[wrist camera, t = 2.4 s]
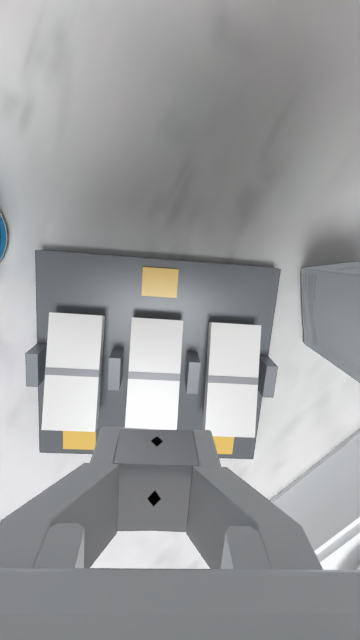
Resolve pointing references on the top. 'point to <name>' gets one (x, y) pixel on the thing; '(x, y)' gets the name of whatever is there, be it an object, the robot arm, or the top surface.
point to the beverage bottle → (2, 237)
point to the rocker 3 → (232, 379)
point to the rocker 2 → (154, 374)
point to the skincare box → (333, 313)
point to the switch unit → (154, 303)
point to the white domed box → (329, 505)
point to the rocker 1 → (73, 372)
